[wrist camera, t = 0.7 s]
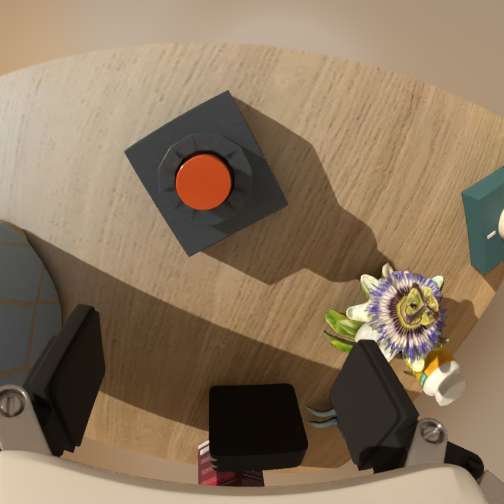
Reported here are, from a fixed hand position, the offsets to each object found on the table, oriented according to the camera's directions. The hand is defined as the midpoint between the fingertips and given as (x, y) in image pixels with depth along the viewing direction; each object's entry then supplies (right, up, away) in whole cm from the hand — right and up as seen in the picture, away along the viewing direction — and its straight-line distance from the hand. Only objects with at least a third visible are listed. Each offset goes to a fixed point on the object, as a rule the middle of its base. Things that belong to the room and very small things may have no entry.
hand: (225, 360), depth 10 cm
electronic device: (+1, -14, +25) cm, 28 cm away
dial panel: (+30, +8, +18) cm, 36 cm away
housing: (-3, +10, +14) cm, 18 cm away
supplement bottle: (+23, -9, +25) cm, 35 cm away
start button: (-2, +9, +11) cm, 14 cm away
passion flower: (+14, -2, +21) cm, 25 cm away
